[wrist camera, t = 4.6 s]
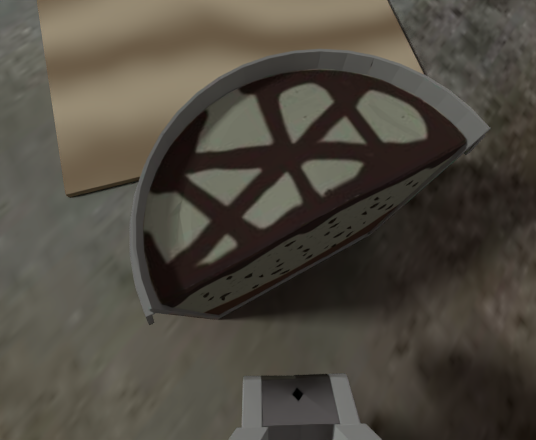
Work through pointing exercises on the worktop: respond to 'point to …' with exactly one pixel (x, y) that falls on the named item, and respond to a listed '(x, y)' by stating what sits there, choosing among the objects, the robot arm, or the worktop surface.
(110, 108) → the oak board
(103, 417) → the worktop surface
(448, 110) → the food container
